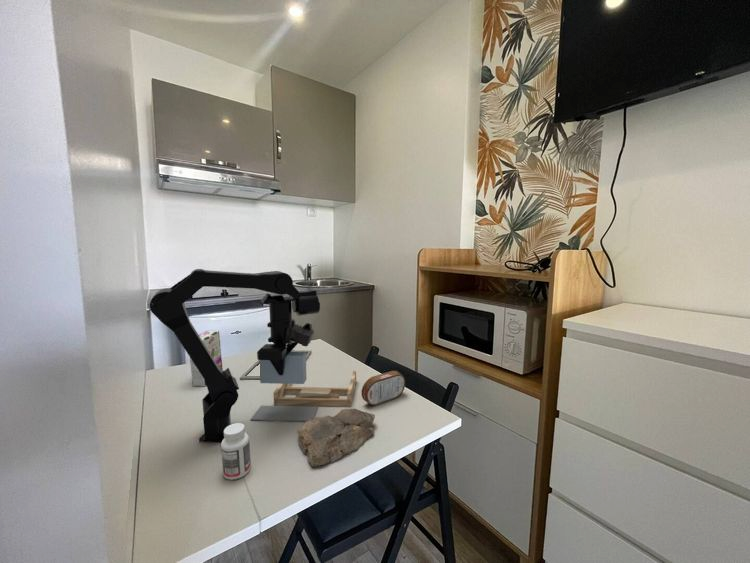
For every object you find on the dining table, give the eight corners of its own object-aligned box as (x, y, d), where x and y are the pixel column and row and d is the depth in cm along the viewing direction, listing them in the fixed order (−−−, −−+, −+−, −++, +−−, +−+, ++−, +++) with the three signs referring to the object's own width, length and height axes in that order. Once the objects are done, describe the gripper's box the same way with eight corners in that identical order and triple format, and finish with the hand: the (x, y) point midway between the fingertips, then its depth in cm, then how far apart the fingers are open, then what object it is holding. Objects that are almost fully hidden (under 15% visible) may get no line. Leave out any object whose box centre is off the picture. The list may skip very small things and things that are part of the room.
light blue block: (303, 384, 82) (302, 355, 81) (260, 383, 83) (259, 355, 82) (306, 379, 85) (305, 351, 84) (264, 378, 86) (263, 351, 85)
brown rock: (360, 412, 86) (291, 436, 75) (360, 397, 86) (291, 418, 75) (389, 440, 75) (312, 473, 64) (389, 422, 74) (312, 452, 63)
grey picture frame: (239, 377, 106) (270, 348, 136) (239, 382, 106) (271, 351, 136) (293, 378, 106) (313, 348, 135) (293, 382, 106) (313, 351, 136)
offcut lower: (336, 405, 91) (336, 399, 90) (294, 404, 92) (294, 397, 91) (338, 400, 94) (338, 394, 93) (298, 398, 95) (297, 392, 94)
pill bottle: (242, 458, 68) (239, 417, 67) (256, 468, 65) (253, 426, 63) (218, 473, 64) (214, 430, 62) (231, 485, 60) (228, 440, 59)
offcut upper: (328, 399, 90) (328, 393, 90) (299, 398, 91) (299, 392, 91) (331, 395, 93) (330, 389, 93) (302, 393, 94) (302, 388, 94)
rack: (350, 406, 89) (350, 393, 88) (274, 405, 90) (273, 392, 89) (356, 381, 105) (356, 370, 104) (291, 380, 106) (290, 369, 105)
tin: (400, 391, 98) (400, 367, 97) (406, 395, 95) (407, 370, 94) (360, 405, 90) (360, 378, 89) (366, 410, 87) (366, 382, 86)
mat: (311, 422, 81) (311, 420, 81) (250, 420, 82) (250, 419, 82) (317, 407, 88) (317, 406, 88) (261, 406, 89) (261, 405, 89)
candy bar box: (210, 372, 113) (206, 330, 111) (223, 372, 113) (220, 330, 111) (191, 386, 102) (187, 340, 100) (205, 387, 102) (202, 340, 99)
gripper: (300, 327, 72) (302, 389, 74) (318, 310, 91) (319, 360, 93) (254, 327, 73) (257, 388, 75) (281, 310, 91) (283, 359, 93)
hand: (283, 372), depth 84 cm, fingers closed on light blue block, 3 cm apart
